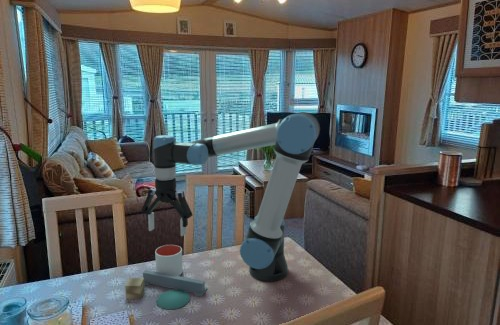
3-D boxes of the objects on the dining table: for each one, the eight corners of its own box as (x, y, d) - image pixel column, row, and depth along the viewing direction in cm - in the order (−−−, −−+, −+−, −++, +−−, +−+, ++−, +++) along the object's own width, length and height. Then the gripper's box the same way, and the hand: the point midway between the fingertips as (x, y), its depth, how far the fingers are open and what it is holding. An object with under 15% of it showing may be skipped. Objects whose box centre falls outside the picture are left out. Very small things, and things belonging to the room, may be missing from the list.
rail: (207, 289, 124) (207, 278, 123) (201, 296, 119) (200, 286, 118) (148, 277, 131) (147, 268, 130) (140, 284, 126) (139, 274, 125)
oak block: (144, 290, 123) (143, 277, 122) (141, 299, 118) (140, 285, 117) (130, 291, 122) (129, 278, 121) (126, 299, 117) (125, 286, 116)
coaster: (195, 293, 121) (195, 292, 121) (179, 312, 111) (179, 311, 110) (167, 288, 124) (167, 287, 124) (150, 305, 114) (150, 304, 114)
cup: (176, 282, 128) (175, 257, 126) (151, 279, 130) (150, 254, 128) (186, 269, 138) (185, 245, 136) (163, 266, 140) (162, 243, 138)
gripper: (201, 178, 126) (201, 232, 130) (142, 172, 133) (144, 224, 138) (191, 183, 119) (192, 240, 123) (130, 177, 126) (133, 231, 131)
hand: (167, 232), depth 130 cm, fingers open, 13 cm apart
